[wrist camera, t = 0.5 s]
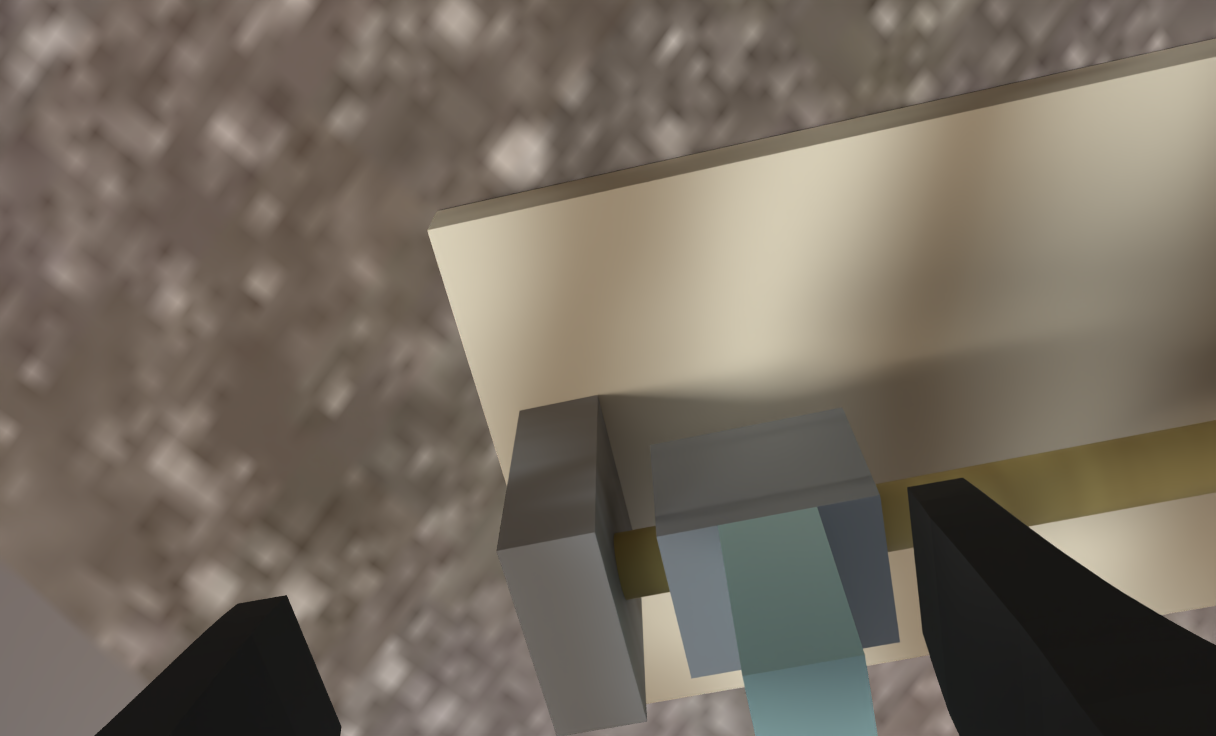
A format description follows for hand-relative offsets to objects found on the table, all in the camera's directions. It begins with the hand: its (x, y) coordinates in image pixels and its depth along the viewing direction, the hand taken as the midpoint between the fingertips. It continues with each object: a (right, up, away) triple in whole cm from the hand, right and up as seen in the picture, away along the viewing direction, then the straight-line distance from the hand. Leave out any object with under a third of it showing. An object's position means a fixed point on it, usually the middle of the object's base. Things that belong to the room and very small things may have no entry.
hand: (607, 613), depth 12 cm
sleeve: (+3, 0, +8) cm, 9 cm away
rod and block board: (+7, +2, +10) cm, 12 cm away
